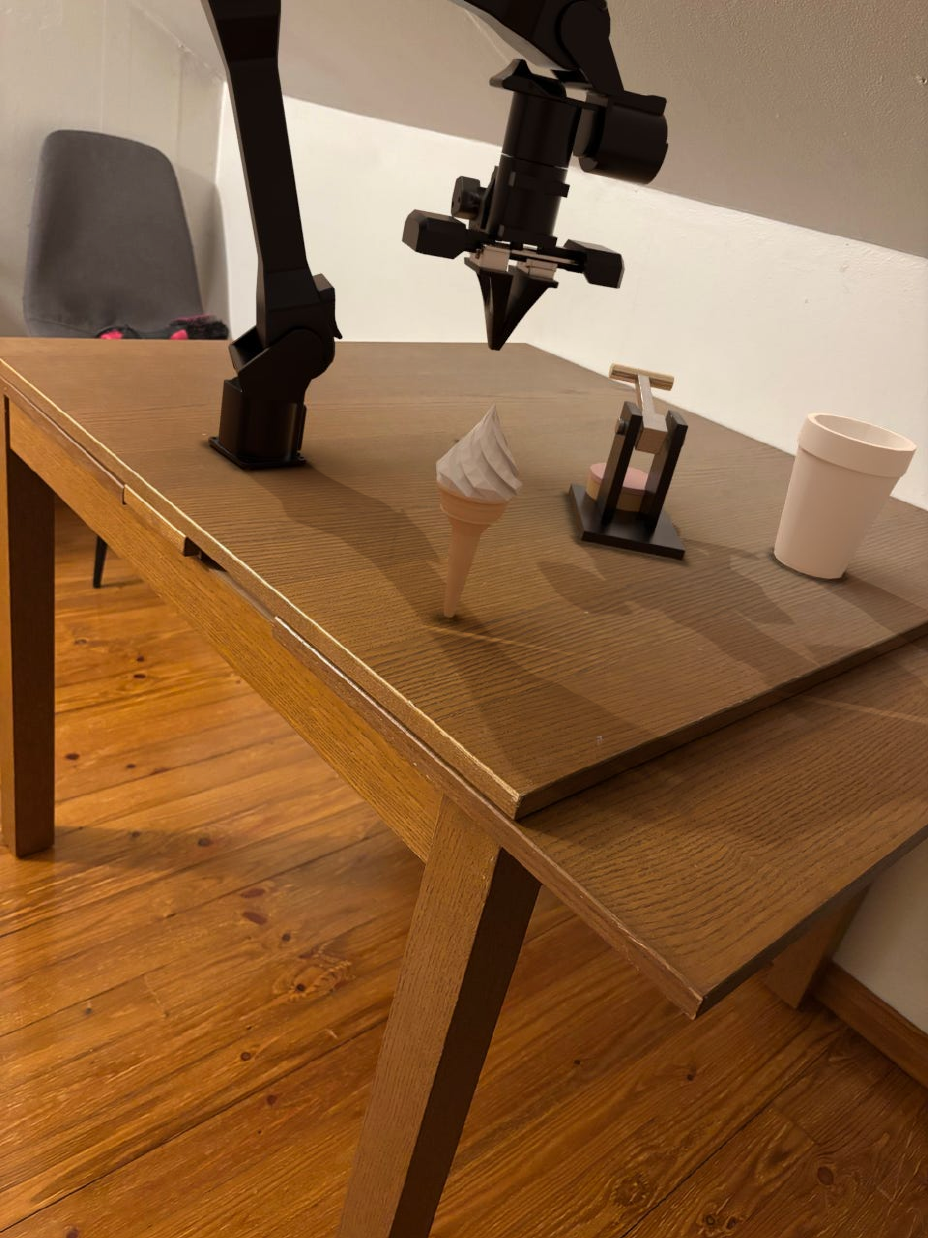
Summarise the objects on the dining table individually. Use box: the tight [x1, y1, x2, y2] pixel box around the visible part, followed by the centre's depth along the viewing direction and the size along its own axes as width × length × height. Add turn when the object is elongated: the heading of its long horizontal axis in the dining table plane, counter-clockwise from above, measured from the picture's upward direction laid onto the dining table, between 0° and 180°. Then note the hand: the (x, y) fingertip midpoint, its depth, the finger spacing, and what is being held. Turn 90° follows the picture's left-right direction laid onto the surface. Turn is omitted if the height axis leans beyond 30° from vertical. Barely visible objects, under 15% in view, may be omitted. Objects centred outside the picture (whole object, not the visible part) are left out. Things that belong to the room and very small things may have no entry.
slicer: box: [568, 400, 689, 561], centre depth 87 cm, size 12×9×11 cm
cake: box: [585, 462, 649, 511], centre depth 93 cm, size 7×7×3 cm
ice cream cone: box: [435, 403, 523, 619], centre depth 63 cm, size 6×6×15 cm
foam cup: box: [773, 412, 918, 580], centre depth 88 cm, size 10×9×13 cm
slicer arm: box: [608, 362, 675, 455], centre depth 89 cm, size 12×6×2 cm, turn 0°
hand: (493, 349), depth 88 cm, fingers closed
